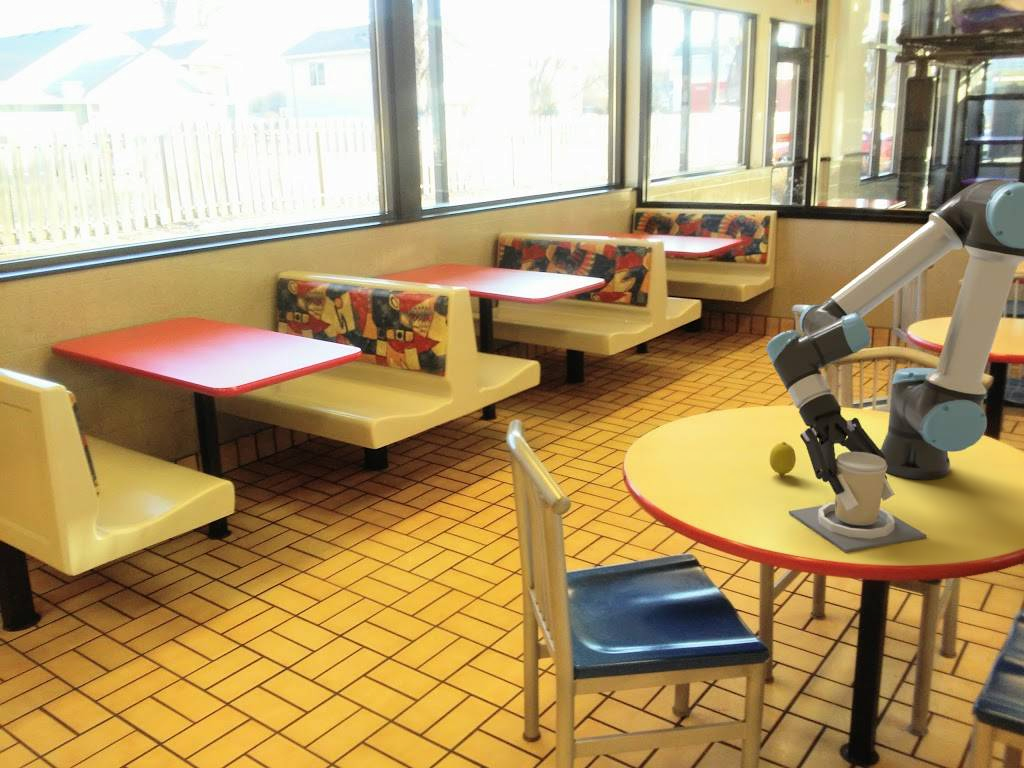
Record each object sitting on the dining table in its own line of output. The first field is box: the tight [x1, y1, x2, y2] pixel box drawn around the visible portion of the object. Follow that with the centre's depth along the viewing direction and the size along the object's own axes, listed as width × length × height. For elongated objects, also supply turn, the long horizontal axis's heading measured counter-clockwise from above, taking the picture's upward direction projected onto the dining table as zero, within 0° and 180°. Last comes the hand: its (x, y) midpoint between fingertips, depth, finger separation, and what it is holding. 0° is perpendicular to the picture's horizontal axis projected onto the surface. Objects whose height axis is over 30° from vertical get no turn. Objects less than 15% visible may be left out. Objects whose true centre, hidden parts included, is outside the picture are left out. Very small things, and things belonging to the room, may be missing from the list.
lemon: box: [769, 441, 797, 477], centre depth 199 cm, size 6×6×8 cm
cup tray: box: [788, 501, 927, 553], centre depth 175 cm, size 18×18×2 cm
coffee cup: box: [834, 451, 887, 525], centre depth 173 cm, size 9×9×12 cm
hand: (871, 502), depth 171 cm, fingers closed on coffee cup, 9 cm apart
